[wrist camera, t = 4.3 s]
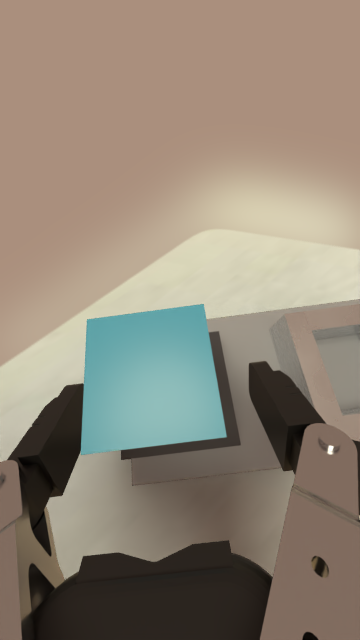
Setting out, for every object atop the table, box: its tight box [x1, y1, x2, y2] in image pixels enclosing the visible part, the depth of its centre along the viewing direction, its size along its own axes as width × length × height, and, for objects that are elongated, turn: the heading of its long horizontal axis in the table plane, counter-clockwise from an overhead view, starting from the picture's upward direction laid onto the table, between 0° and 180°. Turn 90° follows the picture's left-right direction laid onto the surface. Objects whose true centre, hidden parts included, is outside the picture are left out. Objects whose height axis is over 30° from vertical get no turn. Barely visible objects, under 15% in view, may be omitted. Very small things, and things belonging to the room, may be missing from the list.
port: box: [269, 304, 360, 441], centre depth 16 cm, size 9×9×4 cm
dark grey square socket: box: [121, 331, 241, 460], centre depth 16 cm, size 8×8×3 cm
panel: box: [131, 299, 360, 486], centre depth 18 cm, size 22×12×1 cm, turn 97°
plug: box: [81, 304, 227, 455], centre depth 12 cm, size 4×4×12 cm
